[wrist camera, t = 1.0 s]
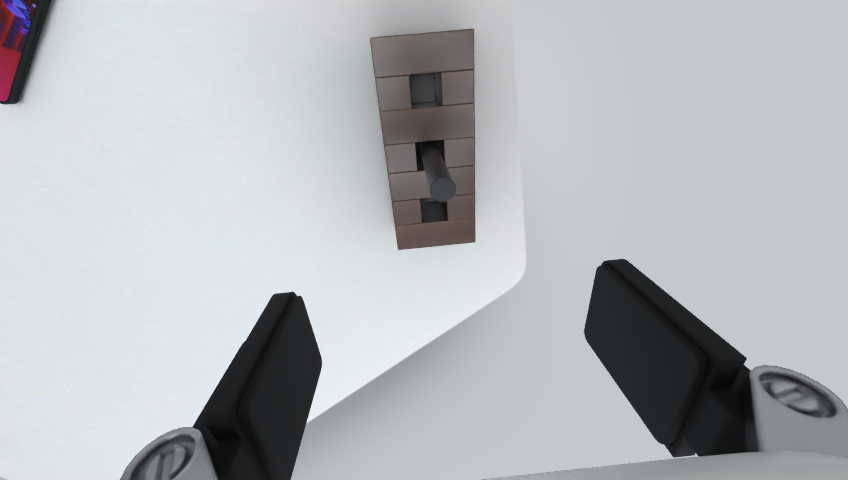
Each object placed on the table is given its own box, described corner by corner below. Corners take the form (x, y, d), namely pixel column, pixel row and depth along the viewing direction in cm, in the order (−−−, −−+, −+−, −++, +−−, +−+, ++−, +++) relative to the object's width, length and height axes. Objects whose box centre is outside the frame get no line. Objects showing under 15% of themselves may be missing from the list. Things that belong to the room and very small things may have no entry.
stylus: (417, 136, 30) (429, 178, 18) (433, 135, 30) (455, 176, 18) (419, 152, 31) (431, 203, 18) (434, 151, 31) (456, 201, 18)
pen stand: (375, 44, 26) (369, 37, 22) (462, 36, 27) (474, 28, 22) (398, 227, 34) (398, 250, 30) (465, 221, 34) (475, 242, 30)
